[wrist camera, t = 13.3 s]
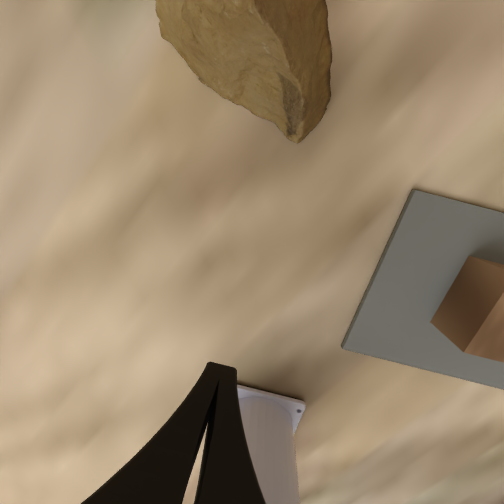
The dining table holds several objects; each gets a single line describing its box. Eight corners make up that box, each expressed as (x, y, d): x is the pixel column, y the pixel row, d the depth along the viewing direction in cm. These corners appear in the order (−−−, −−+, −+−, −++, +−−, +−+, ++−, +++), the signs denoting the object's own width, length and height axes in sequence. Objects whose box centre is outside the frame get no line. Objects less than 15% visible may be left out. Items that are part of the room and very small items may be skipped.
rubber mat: (511, 388, 21) (515, 392, 21) (341, 345, 21) (342, 348, 21) (625, 245, 17) (634, 247, 17) (411, 189, 17) (415, 189, 16)
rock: (385, 110, 13) (353, -159, 9) (328, 150, 8) (201, -425, 4) (248, 159, 21) (197, 19, 17) (171, 197, 15) (71, 5, 12)
